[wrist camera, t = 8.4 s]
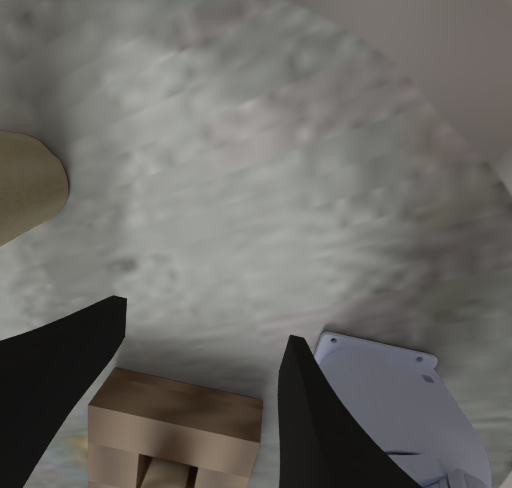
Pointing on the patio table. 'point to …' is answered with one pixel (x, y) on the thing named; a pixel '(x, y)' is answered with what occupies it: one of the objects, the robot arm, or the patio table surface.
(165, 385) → the socket block
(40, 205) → the flower pot
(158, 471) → the peg
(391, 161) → the patio table surface
